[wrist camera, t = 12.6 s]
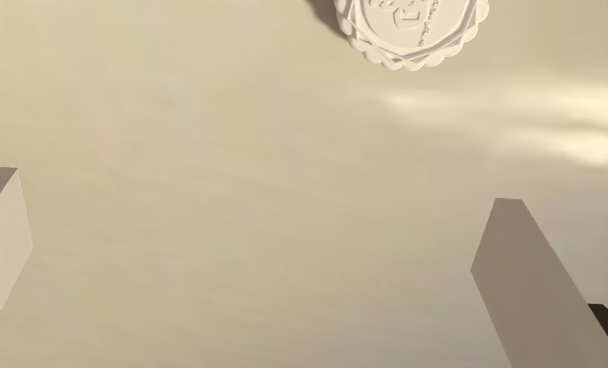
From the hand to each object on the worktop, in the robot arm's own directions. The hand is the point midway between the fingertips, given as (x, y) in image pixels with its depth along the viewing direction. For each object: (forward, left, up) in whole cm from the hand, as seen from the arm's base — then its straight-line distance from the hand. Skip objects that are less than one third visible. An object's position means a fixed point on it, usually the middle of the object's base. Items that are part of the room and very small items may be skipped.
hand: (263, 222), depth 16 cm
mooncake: (+11, -1, -33) cm, 35 cm away
